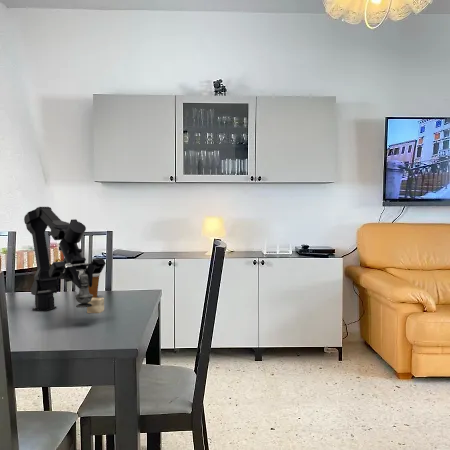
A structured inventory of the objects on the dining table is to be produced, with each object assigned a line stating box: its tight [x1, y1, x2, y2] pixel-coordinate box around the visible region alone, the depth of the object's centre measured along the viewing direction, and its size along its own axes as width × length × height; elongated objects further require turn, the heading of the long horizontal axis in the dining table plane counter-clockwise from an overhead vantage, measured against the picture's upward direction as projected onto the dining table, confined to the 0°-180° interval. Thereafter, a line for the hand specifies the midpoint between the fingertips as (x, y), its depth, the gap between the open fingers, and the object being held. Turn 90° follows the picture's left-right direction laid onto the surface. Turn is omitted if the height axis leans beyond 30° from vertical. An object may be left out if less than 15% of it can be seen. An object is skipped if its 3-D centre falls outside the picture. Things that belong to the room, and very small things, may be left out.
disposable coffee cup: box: [78, 270, 101, 298], centre depth 205 cm, size 10×10×12 cm
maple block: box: [86, 297, 105, 314], centre depth 178 cm, size 5×5×5 cm
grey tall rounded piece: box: [74, 270, 93, 309], centre depth 157 cm, size 6×6×12 cm
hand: (85, 287), depth 156 cm, fingers closed on grey tall rounded piece, 4 cm apart
